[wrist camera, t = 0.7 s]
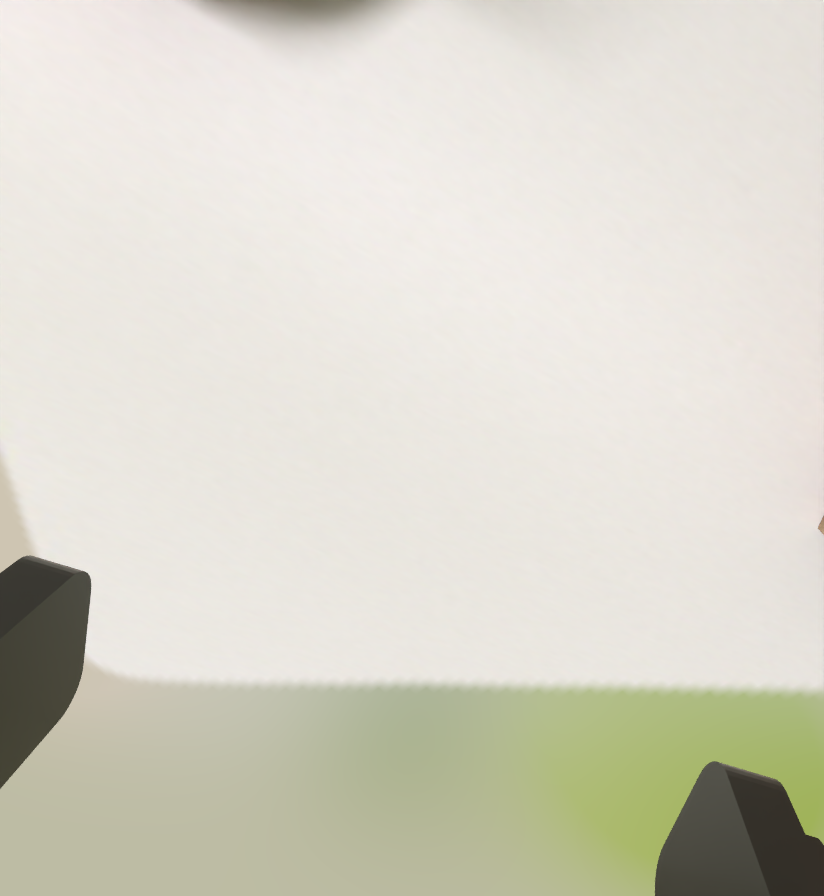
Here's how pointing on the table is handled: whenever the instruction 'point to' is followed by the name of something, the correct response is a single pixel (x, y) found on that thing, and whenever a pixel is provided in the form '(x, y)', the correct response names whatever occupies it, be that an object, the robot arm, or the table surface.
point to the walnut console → (821, 525)
